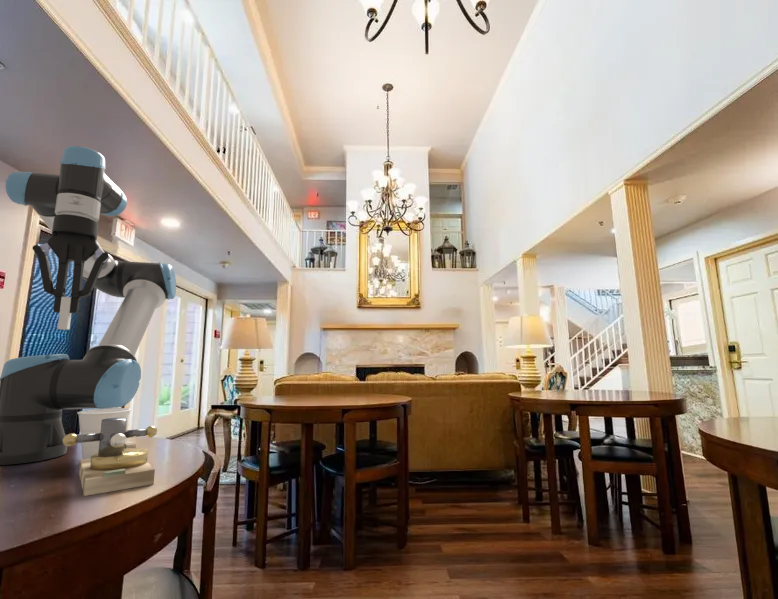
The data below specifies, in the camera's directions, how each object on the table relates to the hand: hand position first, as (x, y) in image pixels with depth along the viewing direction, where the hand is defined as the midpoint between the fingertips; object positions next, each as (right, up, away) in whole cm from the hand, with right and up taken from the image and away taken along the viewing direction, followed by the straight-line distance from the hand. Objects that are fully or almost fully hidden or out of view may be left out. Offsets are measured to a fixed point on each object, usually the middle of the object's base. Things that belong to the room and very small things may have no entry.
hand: (63, 329), depth 82 cm
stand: (+15, -28, -6) cm, 32 cm away
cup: (+3, -30, +6) cm, 31 cm away
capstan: (+15, -25, -7) cm, 30 cm away
